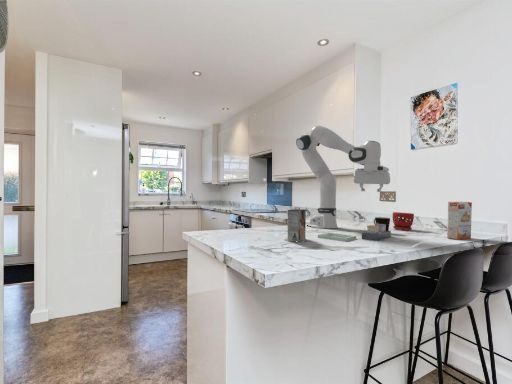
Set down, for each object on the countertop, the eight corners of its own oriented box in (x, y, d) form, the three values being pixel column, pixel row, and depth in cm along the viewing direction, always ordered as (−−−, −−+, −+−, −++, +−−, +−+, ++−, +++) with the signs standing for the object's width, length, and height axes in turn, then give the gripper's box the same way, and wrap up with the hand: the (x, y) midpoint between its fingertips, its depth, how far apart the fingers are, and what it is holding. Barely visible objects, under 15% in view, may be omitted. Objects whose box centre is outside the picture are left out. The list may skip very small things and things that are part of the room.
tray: (318, 238, 148) (318, 234, 148) (329, 236, 157) (329, 232, 157) (345, 242, 137) (345, 238, 137) (356, 239, 145) (356, 236, 145)
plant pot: (409, 231, 182) (409, 213, 182) (389, 229, 192) (389, 212, 192) (416, 230, 190) (416, 212, 190) (396, 228, 200) (397, 211, 200)
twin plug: (374, 236, 153) (374, 224, 153) (378, 235, 157) (378, 223, 157) (382, 237, 150) (382, 225, 150) (385, 236, 154) (385, 224, 154)
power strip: (361, 240, 145) (361, 231, 145) (376, 236, 160) (376, 228, 160) (377, 242, 140) (377, 233, 140) (390, 237, 154) (390, 230, 154)
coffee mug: (391, 235, 164) (392, 218, 164) (376, 234, 166) (376, 218, 166) (386, 232, 176) (386, 216, 176) (372, 231, 178) (372, 216, 178)
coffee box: (294, 238, 147) (294, 208, 147) (305, 240, 143) (306, 209, 143) (287, 241, 139) (287, 209, 139) (298, 242, 135) (299, 210, 135)
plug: (367, 238, 146) (367, 225, 146) (370, 237, 149) (371, 225, 149) (375, 239, 143) (375, 226, 143) (378, 238, 146) (378, 225, 147)
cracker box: (458, 240, 149) (459, 202, 149) (446, 238, 155) (447, 201, 155) (472, 238, 156) (472, 201, 156) (460, 236, 161) (460, 201, 161)
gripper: (352, 168, 167) (351, 190, 167) (388, 167, 153) (386, 192, 153) (357, 169, 171) (356, 191, 171) (391, 168, 157) (390, 192, 157)
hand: (370, 191), depth 162 cm, fingers open, 8 cm apart
